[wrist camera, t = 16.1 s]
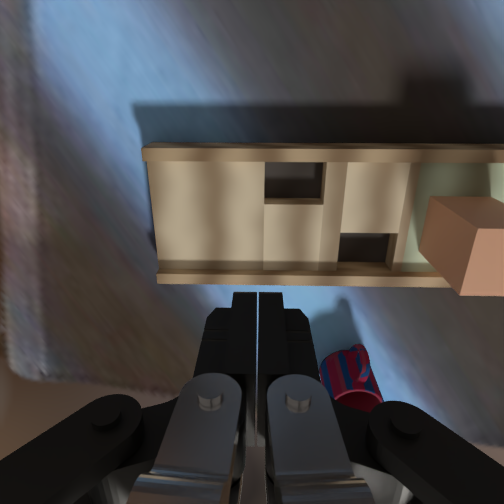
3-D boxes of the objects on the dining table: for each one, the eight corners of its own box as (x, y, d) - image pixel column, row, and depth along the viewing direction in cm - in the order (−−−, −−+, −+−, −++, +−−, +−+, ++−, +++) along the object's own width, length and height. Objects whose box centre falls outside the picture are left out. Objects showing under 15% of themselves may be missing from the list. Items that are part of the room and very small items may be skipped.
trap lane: (165, 268, 44) (154, 289, 39) (151, 142, 38) (137, 150, 33) (493, 272, 43) (520, 294, 38) (532, 143, 37) (570, 152, 32)
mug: (313, 383, 51) (320, 425, 44) (335, 324, 46) (347, 361, 40) (360, 392, 51) (373, 435, 45) (386, 334, 47) (405, 373, 41)
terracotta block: (418, 251, 39) (459, 295, 31) (429, 196, 37) (478, 228, 29) (475, 251, 39) (532, 296, 31) (491, 196, 37) (556, 229, 28)
